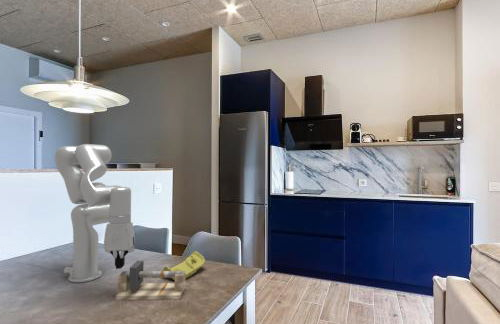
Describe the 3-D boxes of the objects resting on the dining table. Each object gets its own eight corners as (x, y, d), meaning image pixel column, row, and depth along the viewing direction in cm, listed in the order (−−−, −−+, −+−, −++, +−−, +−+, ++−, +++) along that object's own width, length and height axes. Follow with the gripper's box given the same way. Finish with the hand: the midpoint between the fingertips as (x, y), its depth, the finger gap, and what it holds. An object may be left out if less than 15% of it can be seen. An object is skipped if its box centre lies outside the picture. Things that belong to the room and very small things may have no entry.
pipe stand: (114, 299, 105) (114, 276, 105) (126, 287, 116) (126, 266, 116) (181, 299, 105) (181, 276, 106) (186, 286, 116) (186, 266, 117)
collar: (129, 289, 106) (129, 267, 106) (137, 280, 114) (137, 260, 114) (136, 289, 106) (136, 267, 106) (143, 280, 114) (143, 260, 114)
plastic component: (180, 278, 120) (163, 264, 124) (174, 292, 122) (158, 277, 126) (208, 260, 137) (193, 249, 141) (203, 273, 139) (188, 261, 143)
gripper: (95, 221, 106) (94, 271, 106) (136, 221, 107) (136, 271, 107) (104, 217, 114) (104, 264, 114) (143, 217, 114) (142, 264, 114)
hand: (119, 267), depth 110 cm, fingers closed
